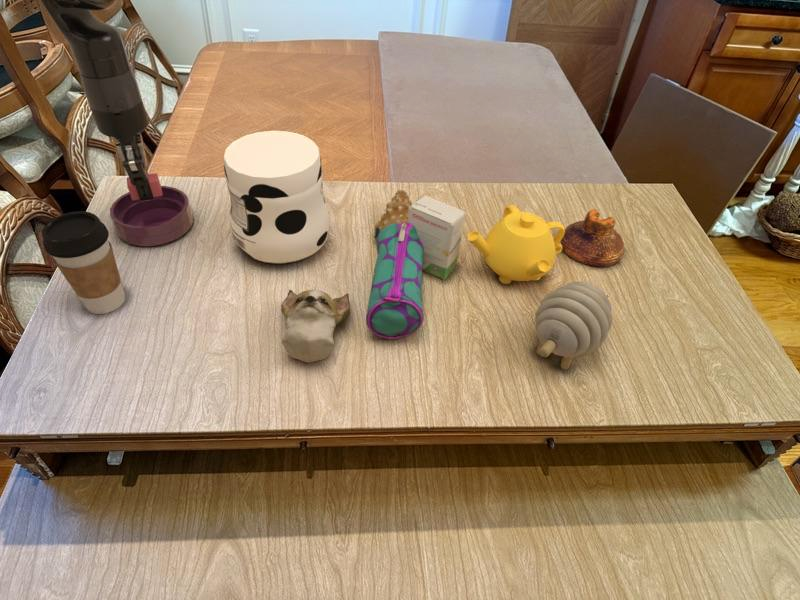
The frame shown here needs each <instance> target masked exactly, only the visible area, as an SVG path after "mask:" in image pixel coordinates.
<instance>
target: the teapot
mask: <svg viewBox="0 0 800 600" xmlns="http://www.w3.org/2000/svg"><path fill="white" fill-rule="evenodd" d="M552 229H558V231H557V233H556V235H555V237H554V236H553V233H552V231H551V230H552ZM565 229H566V228H565V226H564V225H563V224H562V223H561V222H559V221H549V222H546V221H545V220H544V219H543V218H542V217H540V216H539V215H537V214H534V213H532V212H527V211H520V209H519V207H518V206H517V205H514V204H509V205H506V206H505V207H504V210H503V215H502V218H501V219H500V220H499V221H497V222H496V223H495V224H494V225H493V226H492V227H491V228H490V229H489V231H488V233H487V235H486V237H485V238H484V237H483V236H482V234H481V233H480V232H479V231H477V230H472V231H470V232H469V233H468V235H467V240H468V242H470V243H471V244H472V245H473V247H475V249H476V250H478V252H479V253H481V255H482V257H483V259H484V262H485V263H486V264H487V266H488V267H489V268H490V269H491V270H492V271H493V272H494V273H495V274H497V275H498V276H499V277H498V281H500V283H502V284H505V285H506V284H507V285H509V284H510V283H511V282H512V281H514V282H530V281H539V280H540V279H541V277H544V276H545V275H547V274H548V273H549V272H550V271H551V270H552V269H553V268H554V264H555V262H556V255H558V254H560V253H561V252H562V251H563V249H562V244H561V239H562V238H563V236H564V233H565Z"/></svg>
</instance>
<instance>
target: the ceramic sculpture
mask: <svg viewBox="0 0 800 600" xmlns="http://www.w3.org/2000/svg"><path fill="white" fill-rule="evenodd" d="M280 307H281V309H280V311H281V313H282V314H283V316H284V318H286V321H285V325H286V332H285V334H284V335H283V337H282V338H281V344H282V346H283V348H284V351H285V352H286V353H287V354H288V355H289V356H290V357H292V358H293V359H296V360H299V361H302V362H304V363H312V362H313V363H314V362H316V361H321V360H325V359H327V358H328V357H329V356H330V355H331V353H332V352H333V350H334V347H335V341H334V339H333V337H334V332H335V329H336V325H338V324H339V323H341V322H342V321H343V320H344V319H345V318H346V317H347V316H348V314H349V313H350V311H351V302H350V294H349V292H347V293H345V294H344V295H342V296H341V297H336V298H333V299H332V297H331V296H330V295H329V294H327V293H326V292H325V291H322V290H319V289H309V290H304V291H301V292H299V293H298V294H295V293H294V291H293V290H291V289H289V290H288V293H287V296H286V298H285V299H284V301H283V302H282V304H281V305H280Z"/></svg>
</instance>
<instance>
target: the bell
mask: <svg viewBox="0 0 800 600" xmlns="http://www.w3.org/2000/svg"><path fill="white" fill-rule="evenodd" d="M600 215H601V214H600V211H598V210H597V209H595V208H594V209H591V210H589V211H588V212H587V213H586V215H585V217H584V220H579V221H578V220H577V221H574V222H573V223H571V224H569V225H568V226H566V227H565V228H564V229H565V233H564V236H563V238H562V239H561V241H560V244H562V251H563V252H564V253H565V254H566V255H567V256H568V257H570V258H571V259H573V260H575V261H578V263H582V264H585V265H589V266H592V267H593V266H594V267H608V266H609V267H610V266H612V265H615V264H616V263H618V262H619V261H620V260H621V258H622V256H623V255H624V253H625V244H624V241H623V238H622V235H620V233H618V231H617V230H616V229H614V228H615V226H616V219H615V218H614V217H612V216H609V217H607V218H600V217H601V216H600Z"/></svg>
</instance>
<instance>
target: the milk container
mask: <svg viewBox="0 0 800 600" xmlns="http://www.w3.org/2000/svg"><path fill="white" fill-rule="evenodd" d="M321 156H322V155H321V151H320V148H319V146H318V145H317V144H316V143H315V142H314V140H312V139H310V138H309V137H307V136H306V135H303V134H301V133H296V132H292V131H286V130H265V131H257V132H254V133H249V134H246V135H243V136H242V137H239V138H238V139H236V140H233V141H232V142H231V143H230V144H229V145H228V146H227V147H226V148H225V150H224V155H223V170H224V175H225V179H226V186H227V190H228V195H229V198H230V211H229V227H230V232H231V235H232V238H233V240H234V242H235V243H236V245H237V247H238V249H239V250H240V251H241V252H242V253H243V254H245V255H246V256H247V257H249V258H250V259H253V260H254V261H257V262H260V263H265V264H274V265H275V264H276V265H285V264H290V263H291V264H292V263H296V262H299V261H302V260H305V259H307V258H310V257H312V256H313V255H315V254H317V252H319V251H320V250H321V249H322V248H323V247H324V245H325V244H326V242H327V240H328V237H329V233H330V228H331V216H330V215H331V214H330V209H329V207H328V205H327V201H326V199H325V196H324V178H323V177H324V175H323V171H322V157H321Z"/></svg>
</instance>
